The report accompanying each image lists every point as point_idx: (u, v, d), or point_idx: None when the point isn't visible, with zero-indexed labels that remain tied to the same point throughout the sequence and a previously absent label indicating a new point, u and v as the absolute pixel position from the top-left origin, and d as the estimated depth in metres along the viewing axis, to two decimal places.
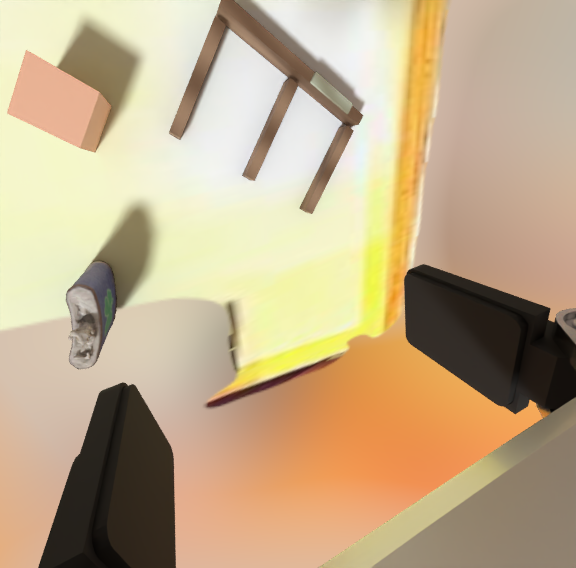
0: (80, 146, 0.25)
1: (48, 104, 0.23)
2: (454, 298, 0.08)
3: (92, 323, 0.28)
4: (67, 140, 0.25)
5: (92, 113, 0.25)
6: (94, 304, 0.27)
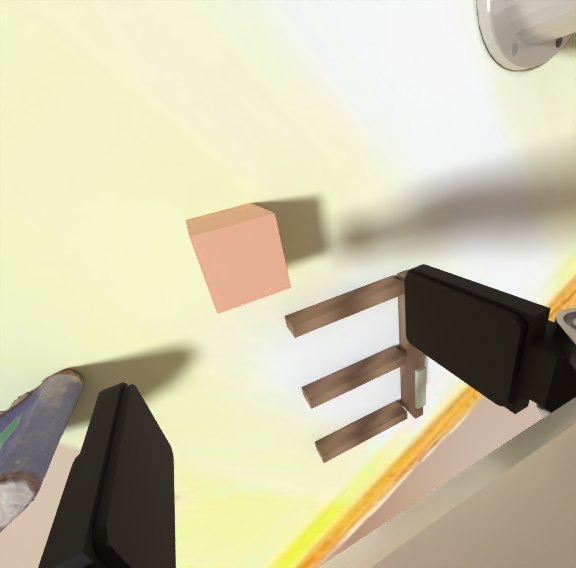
0: (219, 312, 0.18)
1: (236, 261, 0.17)
2: (454, 298, 0.08)
3: None
4: (214, 299, 0.17)
5: None
6: (15, 515, 0.14)
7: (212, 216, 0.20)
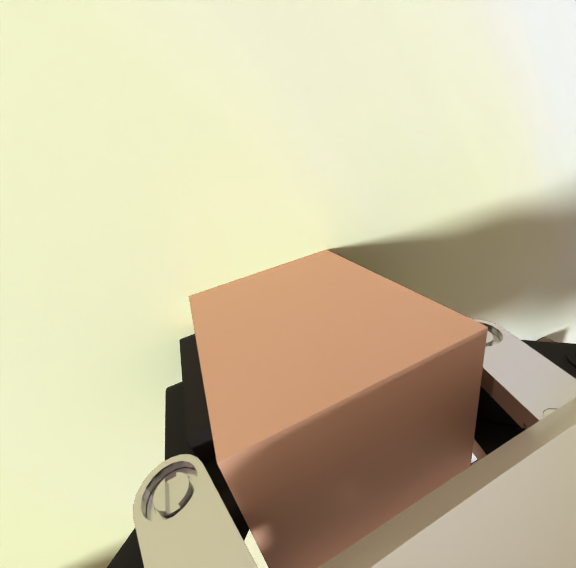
0: None
1: (360, 479, 0.05)
2: None
3: None
4: None
5: None
6: None
7: (255, 294, 0.08)
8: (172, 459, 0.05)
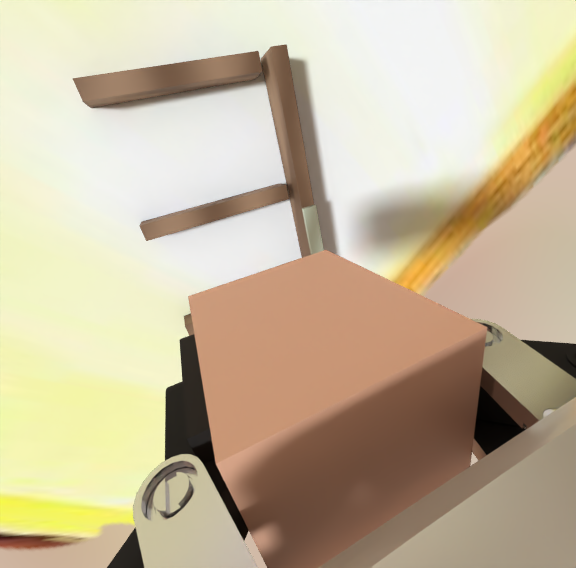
0: None
1: (360, 480, 0.05)
2: None
3: None
4: None
5: None
6: None
7: (254, 294, 0.08)
8: (172, 459, 0.05)
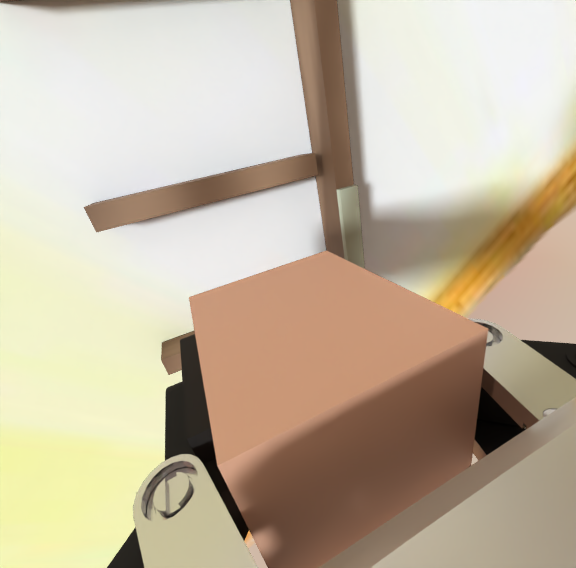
0: None
1: (360, 481, 0.05)
2: None
3: None
4: None
5: None
6: None
7: (255, 295, 0.08)
8: (172, 459, 0.05)
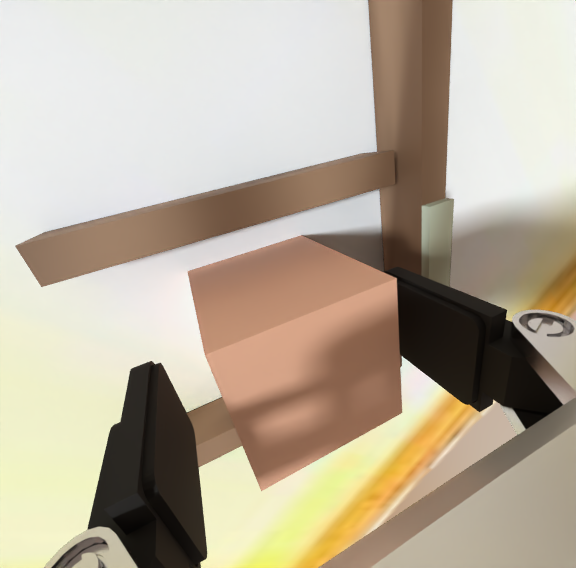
0: (264, 485, 0.08)
1: (309, 387, 0.07)
2: (422, 300, 0.08)
3: None
4: (257, 468, 0.08)
5: None
6: None
7: (239, 267, 0.10)
8: (86, 533, 0.04)
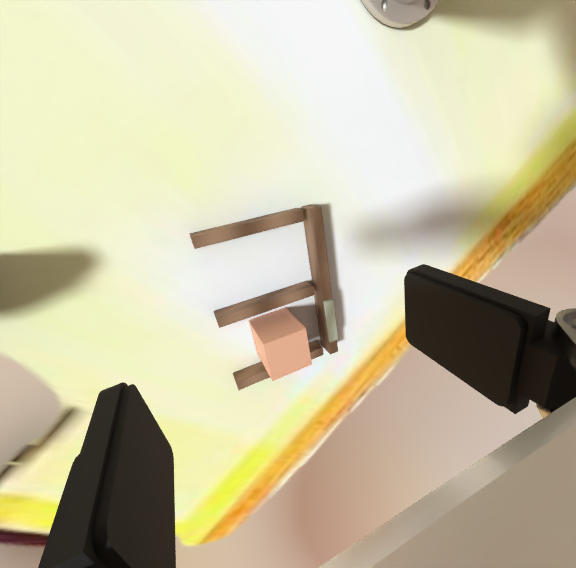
0: (273, 379, 0.32)
1: (284, 353, 0.31)
2: (454, 298, 0.08)
3: None
4: (271, 374, 0.31)
5: None
6: None
7: (266, 320, 0.34)
8: None
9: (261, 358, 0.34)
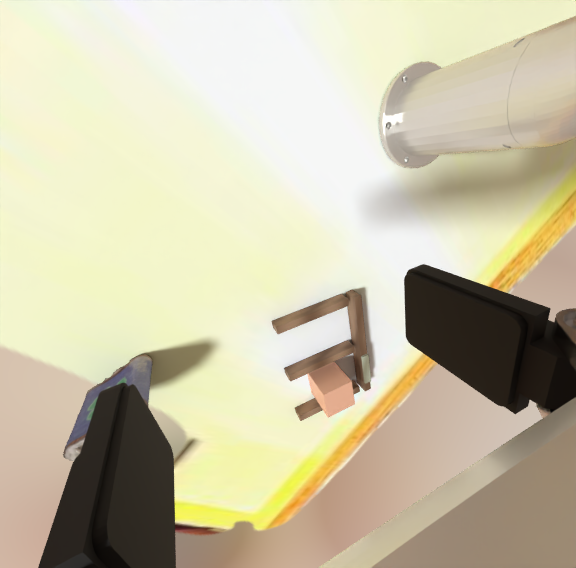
0: (328, 416, 0.45)
1: (337, 399, 0.44)
2: (454, 298, 0.08)
3: None
4: (327, 413, 0.45)
5: None
6: None
7: (320, 372, 0.47)
8: None
9: (317, 398, 0.48)
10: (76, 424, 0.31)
